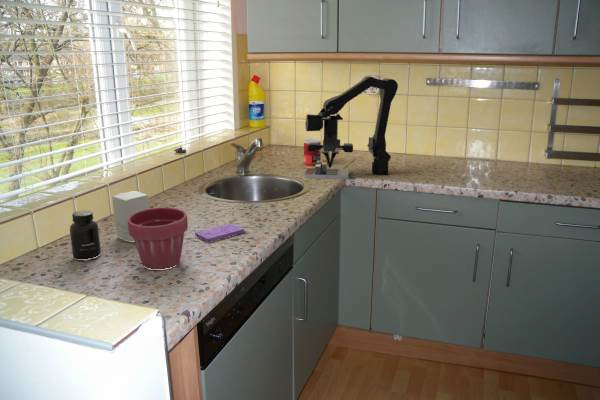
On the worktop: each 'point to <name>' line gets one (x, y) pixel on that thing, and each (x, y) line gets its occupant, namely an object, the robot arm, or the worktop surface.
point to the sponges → (219, 232)
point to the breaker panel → (330, 173)
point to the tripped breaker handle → (324, 166)
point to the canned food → (311, 153)
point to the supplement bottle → (84, 235)
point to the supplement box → (127, 210)
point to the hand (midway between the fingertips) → (330, 167)
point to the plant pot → (158, 235)
